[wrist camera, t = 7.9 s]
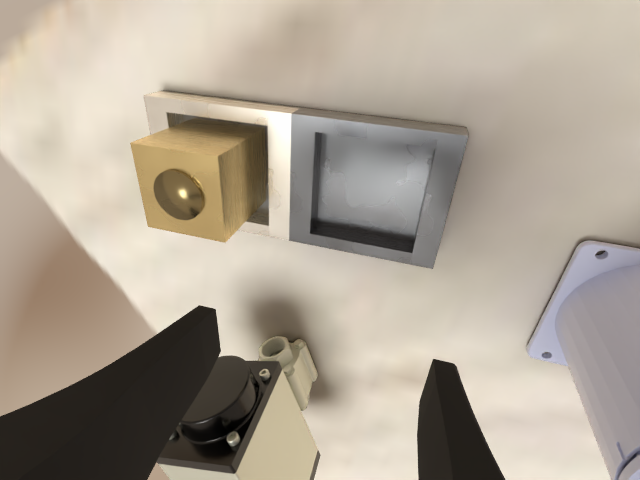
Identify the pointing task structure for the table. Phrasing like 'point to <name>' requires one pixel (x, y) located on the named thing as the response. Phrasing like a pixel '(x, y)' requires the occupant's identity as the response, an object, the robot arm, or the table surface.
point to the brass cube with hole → (201, 177)
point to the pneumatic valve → (248, 420)
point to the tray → (340, 174)
